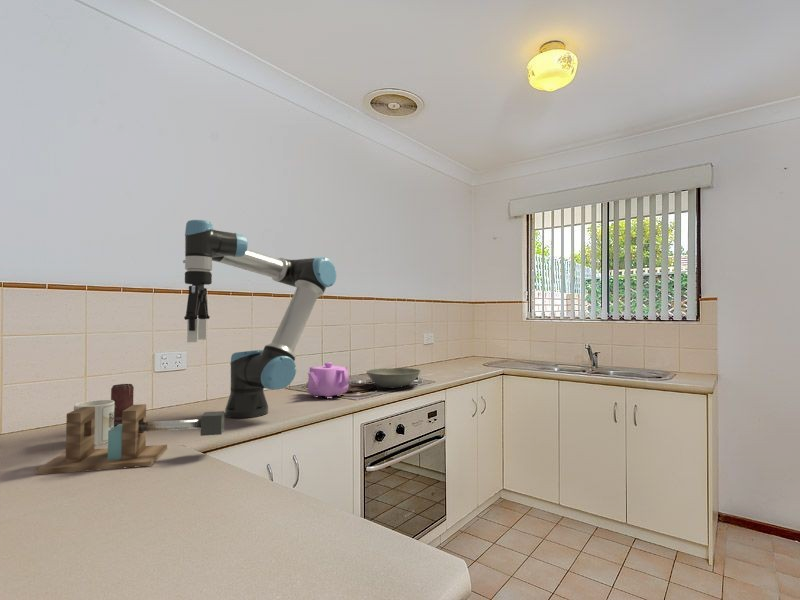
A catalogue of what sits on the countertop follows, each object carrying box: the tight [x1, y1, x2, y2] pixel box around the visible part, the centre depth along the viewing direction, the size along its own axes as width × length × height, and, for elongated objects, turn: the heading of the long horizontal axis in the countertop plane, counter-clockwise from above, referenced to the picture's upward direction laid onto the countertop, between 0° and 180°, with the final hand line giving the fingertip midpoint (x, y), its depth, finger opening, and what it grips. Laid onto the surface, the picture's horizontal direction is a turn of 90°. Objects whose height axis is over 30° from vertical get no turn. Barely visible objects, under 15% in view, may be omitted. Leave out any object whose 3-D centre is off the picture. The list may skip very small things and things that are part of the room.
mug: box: [73, 399, 115, 446], centre depth 128 cm, size 10×12×11 cm
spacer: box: [107, 424, 122, 460], centre depth 113 cm, size 3×7×7 cm, turn 14°
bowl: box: [366, 367, 421, 388], centre depth 225 cm, size 27×28×8 cm
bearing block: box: [36, 403, 168, 475], centre depth 112 cm, size 24×14×13 cm, turn 104°
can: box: [110, 383, 135, 427], centre depth 143 cm, size 6×6×14 cm
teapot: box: [307, 361, 350, 398], centre depth 199 cm, size 19×18×15 cm
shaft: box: [138, 410, 225, 437], centre depth 116 cm, size 21×5×5 cm, turn 104°
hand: (197, 341), depth 135 cm, fingers open, 13 cm apart
